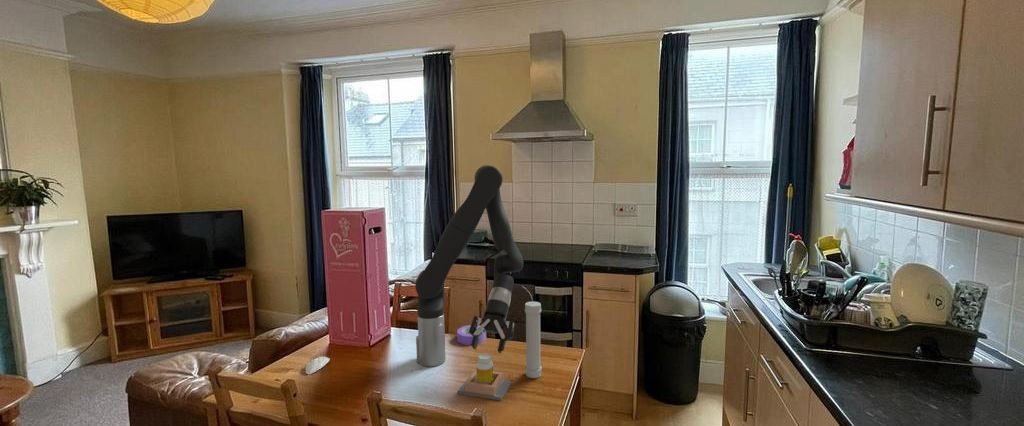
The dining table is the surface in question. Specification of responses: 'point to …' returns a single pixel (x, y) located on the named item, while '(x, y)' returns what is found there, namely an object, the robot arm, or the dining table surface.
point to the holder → (486, 387)
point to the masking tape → (468, 335)
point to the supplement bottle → (484, 369)
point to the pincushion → (316, 364)
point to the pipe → (533, 339)
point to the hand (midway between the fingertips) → (486, 350)
